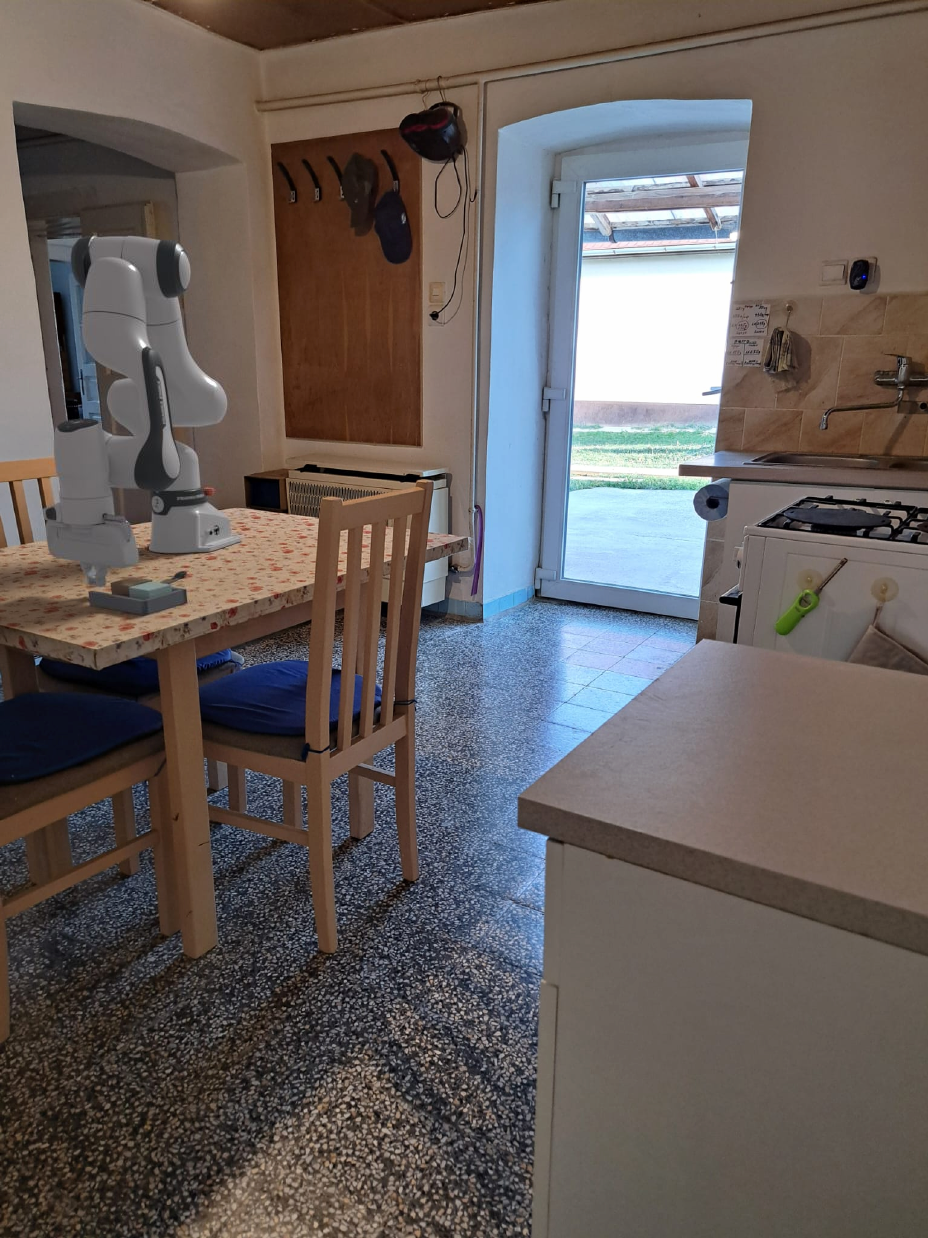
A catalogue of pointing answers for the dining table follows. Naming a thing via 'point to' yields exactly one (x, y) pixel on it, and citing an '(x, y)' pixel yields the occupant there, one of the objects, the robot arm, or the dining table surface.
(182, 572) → the tactical tomahawk
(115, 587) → the brown block
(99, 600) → the tray
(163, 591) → the pale blue cube
